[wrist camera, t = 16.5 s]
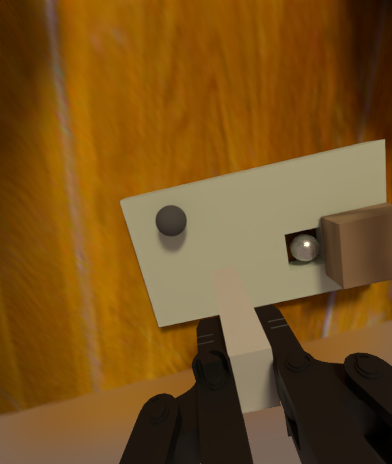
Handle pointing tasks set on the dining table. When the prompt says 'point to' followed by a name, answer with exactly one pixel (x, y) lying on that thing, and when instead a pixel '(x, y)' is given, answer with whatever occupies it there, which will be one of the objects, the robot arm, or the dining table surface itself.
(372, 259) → the cover
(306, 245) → the ball
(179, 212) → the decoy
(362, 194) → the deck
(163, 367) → the dining table surface
